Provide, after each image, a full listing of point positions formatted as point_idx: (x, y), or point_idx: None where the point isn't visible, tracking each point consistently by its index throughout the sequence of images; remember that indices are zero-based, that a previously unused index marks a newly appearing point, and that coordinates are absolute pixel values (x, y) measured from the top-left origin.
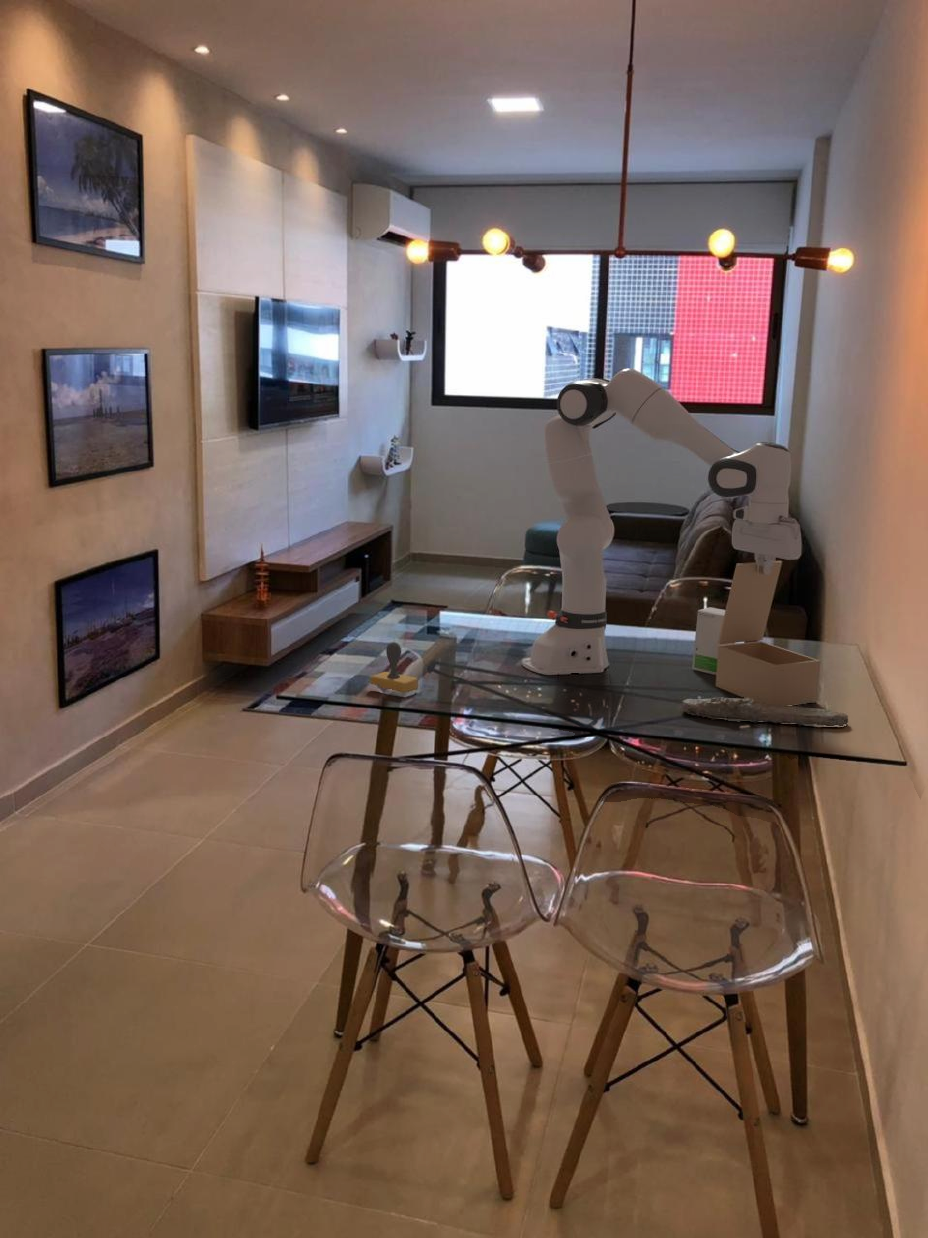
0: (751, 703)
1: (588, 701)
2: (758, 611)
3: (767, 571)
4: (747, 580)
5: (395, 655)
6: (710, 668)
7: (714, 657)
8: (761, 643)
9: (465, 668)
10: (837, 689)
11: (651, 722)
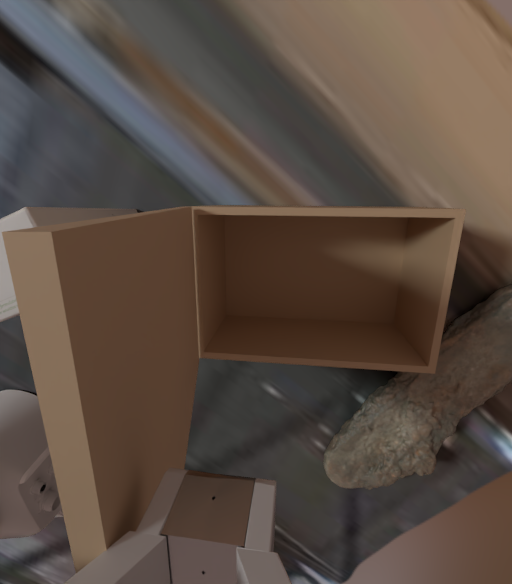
0: (440, 428)
1: None
2: (181, 273)
3: (273, 532)
4: None
5: None
6: None
7: None
8: (201, 214)
9: (24, 565)
10: (355, 59)
11: (351, 528)
